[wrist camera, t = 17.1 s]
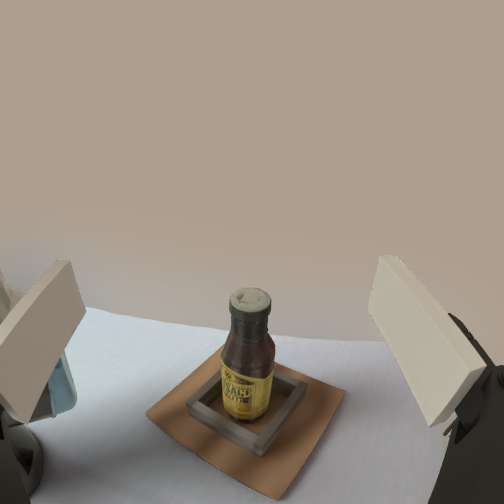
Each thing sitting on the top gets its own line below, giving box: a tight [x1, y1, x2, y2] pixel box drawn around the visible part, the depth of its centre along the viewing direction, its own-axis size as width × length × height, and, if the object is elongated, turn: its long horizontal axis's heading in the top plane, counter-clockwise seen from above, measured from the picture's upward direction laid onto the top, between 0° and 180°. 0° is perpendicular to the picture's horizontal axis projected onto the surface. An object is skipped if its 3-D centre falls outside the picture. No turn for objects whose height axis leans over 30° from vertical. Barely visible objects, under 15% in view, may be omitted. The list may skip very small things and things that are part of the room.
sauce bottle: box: [221, 288, 275, 423], centre depth 33 cm, size 7×6×20 cm
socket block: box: [145, 344, 345, 501], centre depth 37 cm, size 22×20×5 cm
